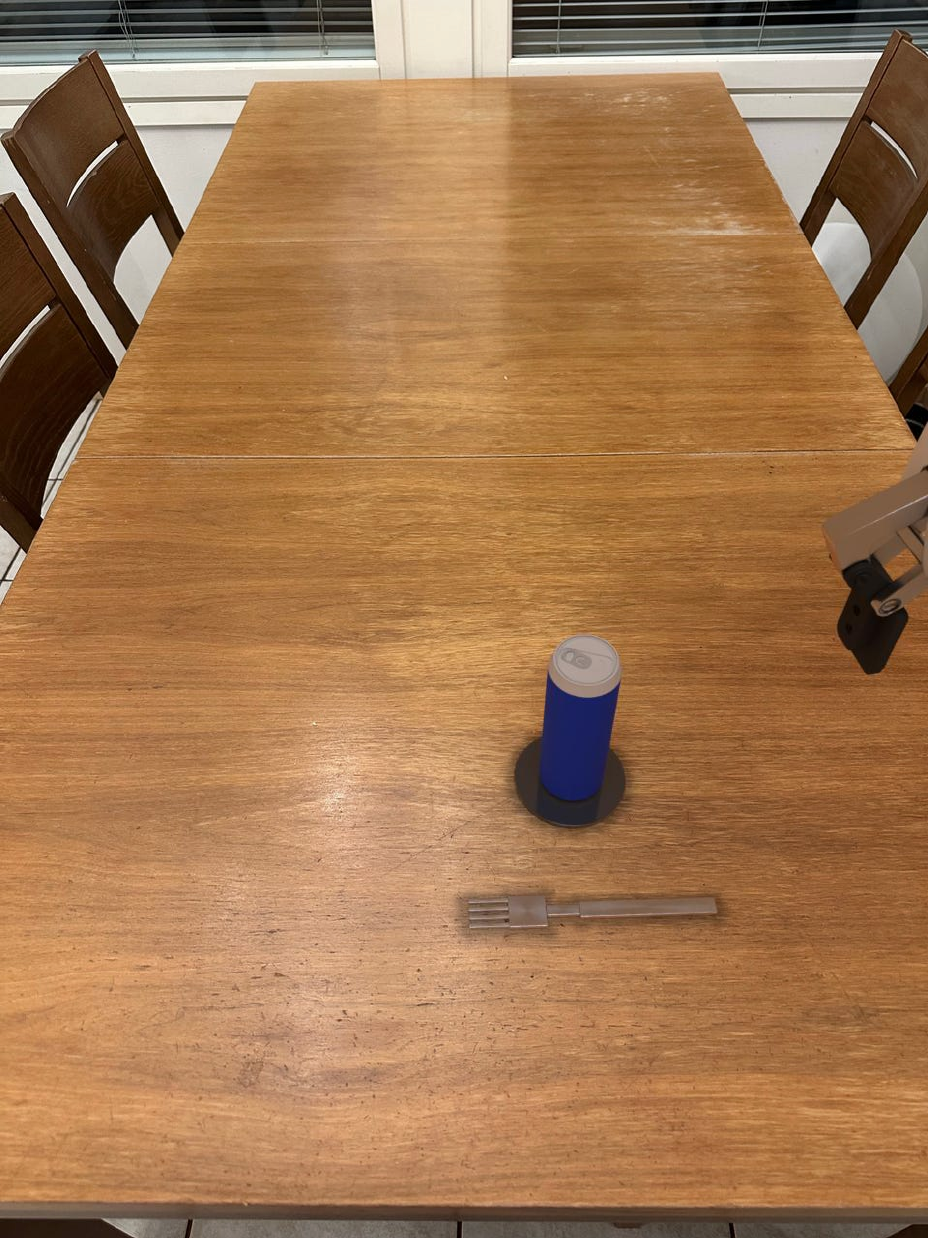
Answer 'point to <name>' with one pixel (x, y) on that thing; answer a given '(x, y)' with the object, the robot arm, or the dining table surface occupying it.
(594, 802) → the coaster
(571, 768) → the beverage can
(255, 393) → the dining table surface
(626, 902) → the fork
